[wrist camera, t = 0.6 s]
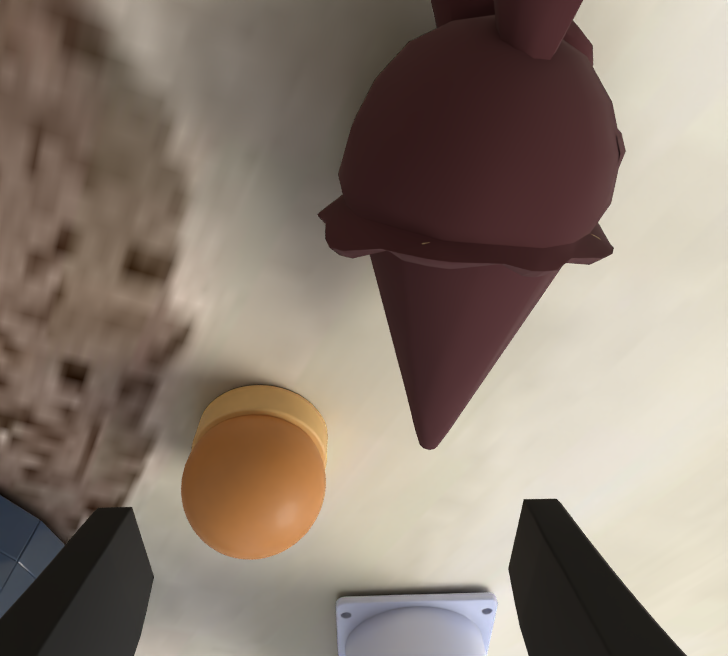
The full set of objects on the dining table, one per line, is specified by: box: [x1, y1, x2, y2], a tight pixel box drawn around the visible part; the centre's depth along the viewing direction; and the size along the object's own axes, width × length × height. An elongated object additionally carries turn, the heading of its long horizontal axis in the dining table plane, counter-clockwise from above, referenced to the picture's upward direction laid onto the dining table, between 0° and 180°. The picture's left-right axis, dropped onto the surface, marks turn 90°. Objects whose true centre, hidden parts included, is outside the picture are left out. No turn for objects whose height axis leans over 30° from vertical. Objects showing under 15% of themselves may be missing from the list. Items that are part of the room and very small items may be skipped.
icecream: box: [318, 0, 626, 450], centre depth 14 cm, size 7×7×15 cm
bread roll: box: [181, 385, 328, 559], centre depth 20 cm, size 5×5×5 cm
